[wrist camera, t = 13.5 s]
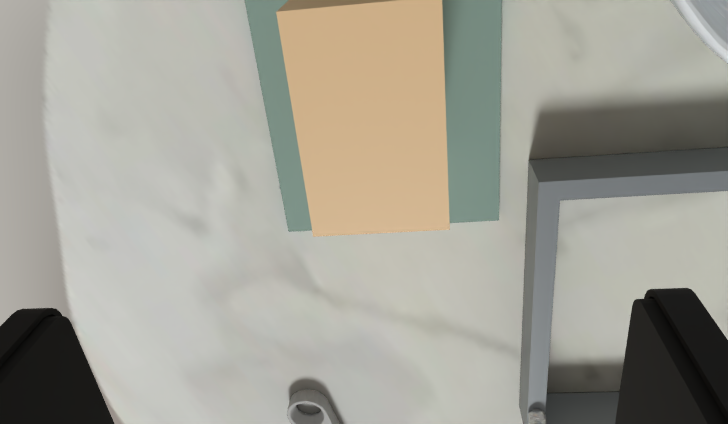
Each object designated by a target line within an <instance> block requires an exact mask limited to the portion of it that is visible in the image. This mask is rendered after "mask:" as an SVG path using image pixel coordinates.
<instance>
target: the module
mask: <svg viewBox="0 0 728 424" xmlns="http://www.w3.org/2000/svg"><path fill="white" fill-rule="evenodd" d="M276 14H277V20H278V26H279V32H280V39H281V45H282V51H283V57H284V63H285V69H286V75H287V81H288V87H289V93H290V99H291V105H292V111H293V117H294V123H295V129H296V135H297V141H298V147H299V153H300V159H301V165H302V171H303V177H304V183H305V189H306V195H307V201H308V208H309V214H310V220H311V226H312V232H313V237H315V236H334V235H354V234H373V233H393V232H412V231H432V230H450V222H449V192H448V161H447V131H446V101H445V71H444V41H443V10H442V0H288V1H287V2H286V3H285V4H284V5H283V6H282V7H281V8H280V9H279V10H278V11H276Z"/></svg>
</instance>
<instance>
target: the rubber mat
mask: <svg viewBox="0 0 728 424" xmlns="http://www.w3.org/2000/svg"><path fill="white" fill-rule="evenodd" d="M287 1H288V0H245V5H246V10H247V15H248V20H249V26H250V31H251V36H252V41H253V47H254V52H255V57H256V62H257V68H258V73H259V78H260V84H261V89H262V94H263V99H264V105H265V110H266V115H267V120H268V126H269V131H270V136H271V141H272V147H273V152H274V157H275V162H276V168H277V173H278V178H279V183H280V189H281V194H282V199H283V204H284V210H285V215H286V220H287V225H288V231H289V232H291V231H310V230H312V226H311V220H310V214H309V208H308V201H307V195H306V189H305V183H304V177H303V171H302V165H301V159H300V153H299V147H298V141H297V135H296V129H295V123H294V117H293V111H292V105H291V99H290V93H289V87H288V81H287V75H286V69H285V63H284V57H283V51H282V45H281V39H280V32H279V26H278V20H277V14H276V11H278V10H279V9H280V8H281V7H282V6H283V5H284V4H285V3H286V2H287ZM501 9H502V0H442V10H443V41H444V71H445V101H446V131H447V161H448V192H449V222H450V223H459V222H477V221H496V220H499V168H500V89H501Z"/></svg>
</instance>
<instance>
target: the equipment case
mask: <svg viewBox="0 0 728 424" xmlns="http://www.w3.org/2000/svg"><path fill="white" fill-rule="evenodd" d="M716 191H728V147H724V148H708V149H692V150H677V151H661V152H646V153H630V154H615V155H599V156H584V157H568V158H552V159H537V160H529V167H528V192H527V218H526V244H525V269H524V295H523V321H522V347H521V372H520V398H519V407H520V411H521V416H522V421H523V424H615V420H616V413H617V406H618V400H619V393H620V392H591V393H547V380H548V365H549V351H550V337H551V322H552V308H553V294H554V279H555V265H556V250H557V236H558V222H559V207H560V200H575V199H593V198H611V197H628V196H646V195H663V194H681V193H699V192H716Z"/></svg>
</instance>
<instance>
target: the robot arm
mask: <svg viewBox="0 0 728 424" xmlns="http://www.w3.org/2000/svg"><path fill="white" fill-rule="evenodd" d="M0 424H114V422H113V419H112V417H111V415H110V413H109V410H108V408H107V406H106V403H105V401H104V399H103V396H102V394H101V392H100V389H99V387H98V385H97V382H96V380H95V378H94V375H93V373H92V371H91V368H90V366H89V364H88V361H87V359H86V357H85V354H84V352H83V350H82V347H81V345H80V343H79V340H78V338H77V336H76V334H75V331H74V329H73V327H72V324H71V322H70V321H69V319H68V318H66V317H64V316H62V314H61V313H60V312H59V311H58V310H57V309H53V308H40V309H39V308H38V309H21V310H17V311H16V312H15V313H13V314H12V315H11V316H10V317H9V318H8V319H7V320H6V321H5V322H4V323H3V324H2V325H1V326H0ZM615 424H728V340H727V339H726V337H725V336H724V334H723V333H722V331H721V330H720V328H719V327H718V326H717V324H716V323H715V321H714V320H713V318H712V317H711V316H710V314H709V313H708V311H707V310H706V308H705V307H704V306H703V304H702V303H701V301H700V300H699V298H698V297H697V296H696V294H695V293H694V292H693V291H692V290H691V289H689V288H674V289H650V290H648V291H647V292H646V294H645V297H644V299H636V300H635V301H634V302H633V306H632V312H631V319H630V325H629V332H628V339H627V346H626V352H625V359H624V366H623V373H622V379H621V386H620V393H619V400H618V406H617V413H616V420H615Z"/></svg>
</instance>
